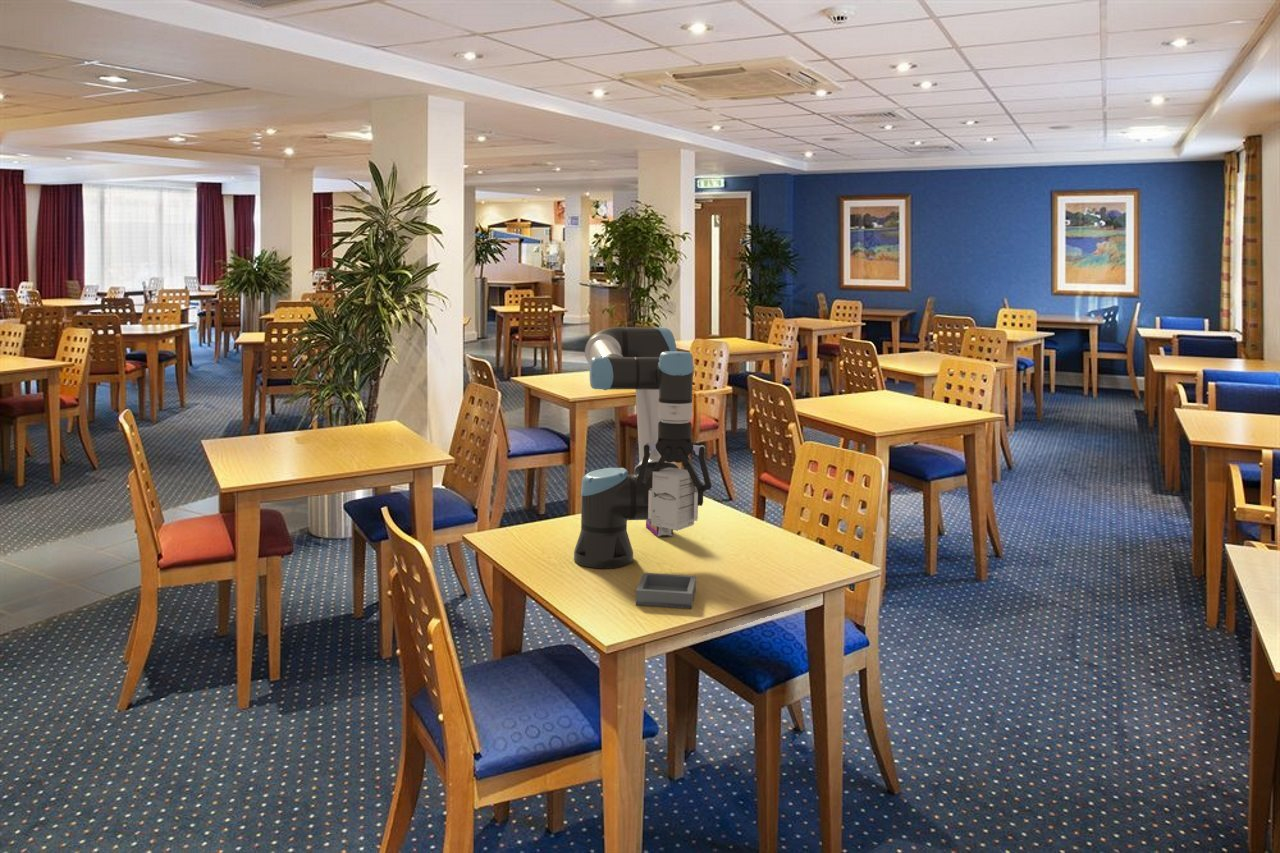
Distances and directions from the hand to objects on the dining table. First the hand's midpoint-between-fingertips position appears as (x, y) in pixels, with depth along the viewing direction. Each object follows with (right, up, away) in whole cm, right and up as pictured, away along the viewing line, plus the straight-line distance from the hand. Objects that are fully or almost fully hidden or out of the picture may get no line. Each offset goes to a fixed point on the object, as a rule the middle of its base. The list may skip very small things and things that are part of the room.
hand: (673, 518), depth 213 cm
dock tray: (-1, -18, +1) cm, 18 cm away
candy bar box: (-2, -9, +55) cm, 55 cm away
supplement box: (0, -2, 0) cm, 2 cm away
